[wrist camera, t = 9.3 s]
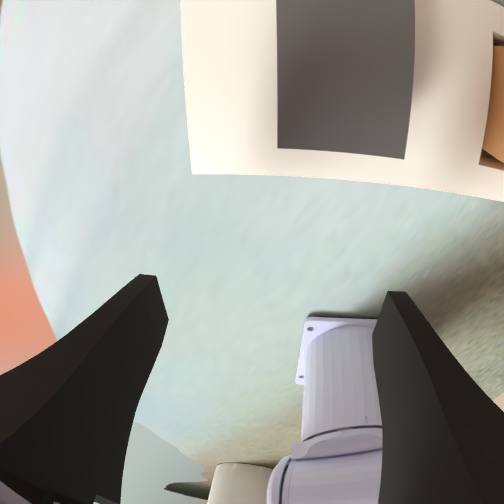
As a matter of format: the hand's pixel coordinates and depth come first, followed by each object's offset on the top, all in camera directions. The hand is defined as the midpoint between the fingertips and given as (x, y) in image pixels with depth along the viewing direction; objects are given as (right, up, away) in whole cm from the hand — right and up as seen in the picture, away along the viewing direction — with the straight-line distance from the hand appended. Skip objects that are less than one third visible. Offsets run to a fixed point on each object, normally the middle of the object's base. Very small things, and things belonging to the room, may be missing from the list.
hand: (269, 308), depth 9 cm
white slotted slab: (+8, +11, +3) cm, 14 cm away
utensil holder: (-1, -45, +44) cm, 63 cm away
